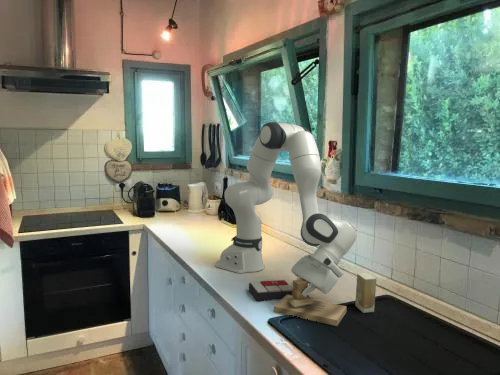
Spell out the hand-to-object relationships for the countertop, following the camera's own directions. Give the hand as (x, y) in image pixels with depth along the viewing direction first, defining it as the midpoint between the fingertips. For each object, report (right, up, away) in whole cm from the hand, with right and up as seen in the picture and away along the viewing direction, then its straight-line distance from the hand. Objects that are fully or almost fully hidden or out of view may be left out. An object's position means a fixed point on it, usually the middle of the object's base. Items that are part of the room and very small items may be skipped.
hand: (298, 292), depth 145 cm
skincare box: (+23, -7, +2) cm, 24 cm away
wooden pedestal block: (0, -4, +1) cm, 4 cm away
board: (+4, -7, -1) cm, 8 cm away
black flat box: (-9, -5, +15) cm, 18 cm away
